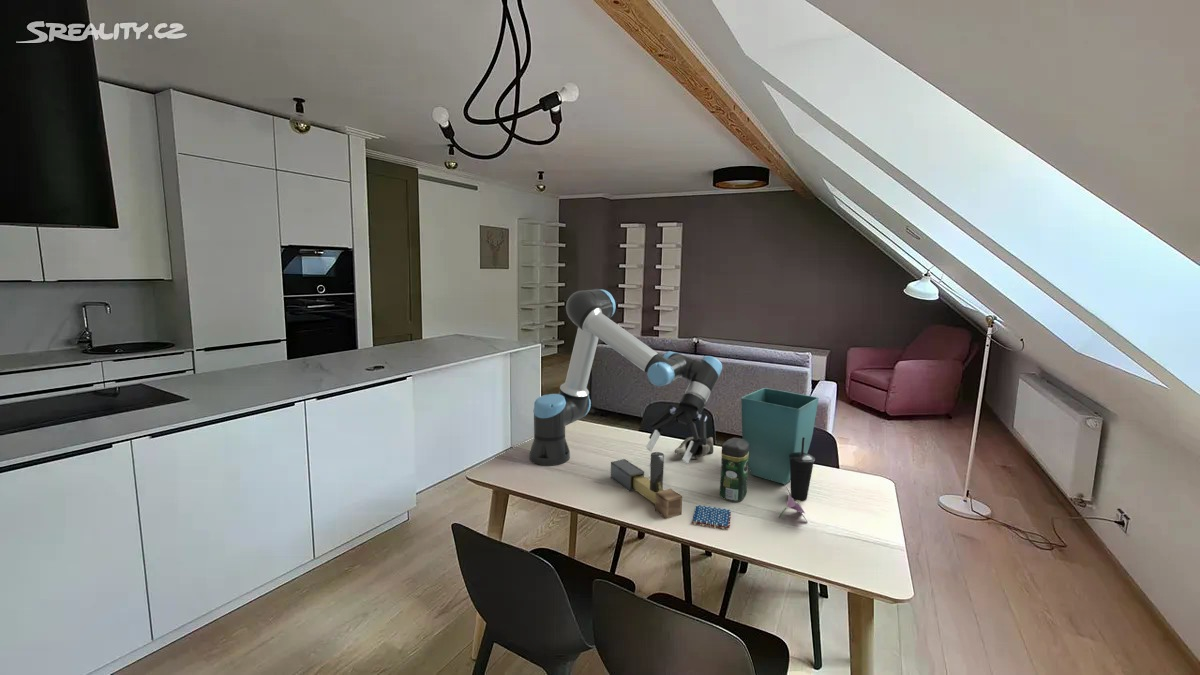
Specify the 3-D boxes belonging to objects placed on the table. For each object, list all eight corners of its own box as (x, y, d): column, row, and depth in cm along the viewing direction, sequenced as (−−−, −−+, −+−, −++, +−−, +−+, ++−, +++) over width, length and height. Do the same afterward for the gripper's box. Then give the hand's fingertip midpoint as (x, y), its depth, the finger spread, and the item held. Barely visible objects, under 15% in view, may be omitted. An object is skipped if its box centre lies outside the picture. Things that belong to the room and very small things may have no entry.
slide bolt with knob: (624, 482, 170) (625, 440, 168) (634, 480, 172) (635, 438, 170) (666, 512, 151) (668, 465, 148) (677, 509, 153) (679, 462, 150)
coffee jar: (725, 487, 171) (728, 433, 168) (749, 493, 167) (752, 438, 164) (715, 498, 163) (718, 442, 160) (740, 505, 159) (744, 448, 156)
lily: (801, 536, 143) (819, 507, 143) (763, 510, 148) (780, 482, 148) (802, 529, 154) (818, 502, 154) (766, 505, 159) (782, 479, 159)
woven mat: (729, 532, 144) (730, 526, 143) (691, 526, 147) (691, 520, 146) (731, 514, 153) (731, 508, 153) (695, 509, 156) (695, 503, 156)
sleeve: (610, 477, 177) (610, 461, 176) (624, 474, 179) (624, 458, 178) (629, 491, 166) (630, 475, 165) (643, 488, 169) (644, 471, 168)
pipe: (684, 472, 202) (684, 466, 188) (672, 452, 205) (670, 445, 192) (719, 450, 203) (721, 443, 189) (706, 431, 206) (708, 422, 193)
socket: (655, 510, 154) (655, 492, 153) (669, 506, 157) (670, 488, 156) (666, 518, 150) (667, 500, 149) (681, 514, 152) (682, 496, 151)
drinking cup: (810, 494, 167) (815, 435, 163) (812, 504, 159) (817, 443, 156) (785, 490, 169) (790, 432, 166) (786, 500, 162) (790, 440, 159)
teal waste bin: (759, 458, 195) (764, 386, 191) (813, 473, 182) (819, 396, 178) (735, 475, 180) (740, 397, 176) (792, 492, 167) (798, 409, 163)
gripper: (732, 413, 161) (705, 472, 153) (667, 397, 178) (639, 450, 169) (725, 400, 156) (696, 461, 148) (659, 385, 173) (629, 439, 164)
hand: (666, 455), depth 158 cm, fingers open, 13 cm apart
